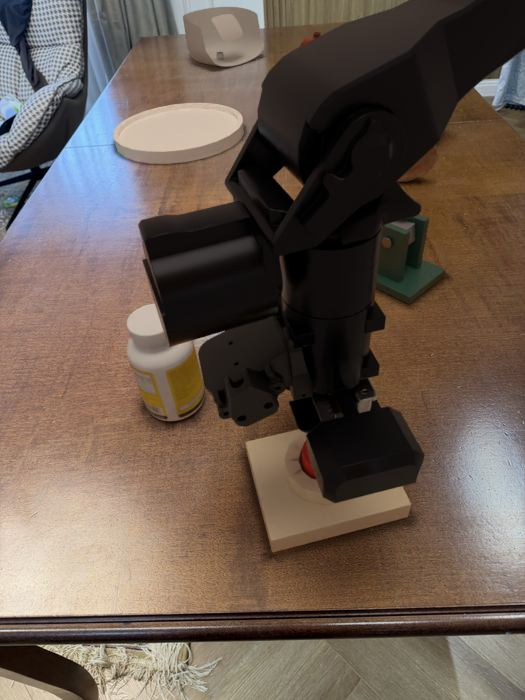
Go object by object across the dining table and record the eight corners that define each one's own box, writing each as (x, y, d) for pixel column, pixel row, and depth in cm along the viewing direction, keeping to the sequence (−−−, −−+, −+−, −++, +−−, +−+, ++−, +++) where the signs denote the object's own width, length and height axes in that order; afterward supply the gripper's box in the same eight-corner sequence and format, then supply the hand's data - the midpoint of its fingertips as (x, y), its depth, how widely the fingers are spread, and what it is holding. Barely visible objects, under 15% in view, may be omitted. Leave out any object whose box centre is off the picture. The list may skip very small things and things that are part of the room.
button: (297, 450, 44) (296, 438, 43) (336, 440, 45) (336, 428, 44) (309, 484, 42) (309, 473, 41) (350, 474, 42) (351, 462, 41)
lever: (324, 230, 71) (322, 209, 69) (339, 222, 73) (338, 200, 71) (402, 252, 63) (402, 228, 61) (417, 241, 64) (418, 218, 62)
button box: (247, 455, 49) (243, 429, 46) (364, 427, 50) (367, 401, 47) (272, 553, 42) (269, 530, 39) (408, 517, 43) (414, 492, 40)
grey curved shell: (228, 47, 163) (224, 4, 155) (266, 57, 151) (264, 10, 143) (176, 62, 154) (169, 17, 146) (213, 73, 143) (206, 24, 135)
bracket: (347, 274, 69) (350, 219, 63) (383, 249, 73) (389, 196, 67) (408, 304, 63) (418, 248, 58) (444, 276, 67) (456, 220, 61)
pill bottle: (214, 383, 56) (197, 301, 48) (193, 429, 51) (170, 346, 43) (160, 374, 57) (135, 293, 49) (135, 418, 53) (104, 337, 45)
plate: (214, 168, 97) (212, 156, 95) (90, 158, 104) (87, 146, 103) (261, 116, 115) (260, 105, 114) (153, 111, 123) (151, 100, 121)
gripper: (179, 236, 36) (210, 382, 47) (225, 440, 23) (253, 579, 34) (326, 209, 38) (324, 357, 48) (450, 387, 24) (408, 537, 35)
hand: (324, 441), depth 41 cm, fingers closed
